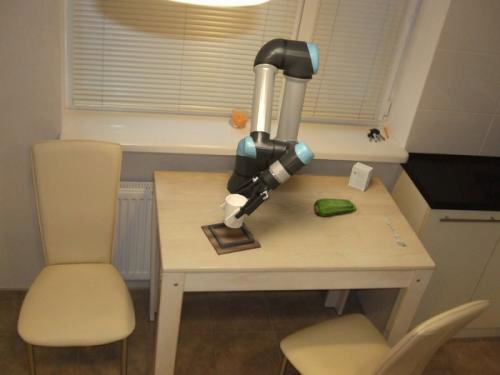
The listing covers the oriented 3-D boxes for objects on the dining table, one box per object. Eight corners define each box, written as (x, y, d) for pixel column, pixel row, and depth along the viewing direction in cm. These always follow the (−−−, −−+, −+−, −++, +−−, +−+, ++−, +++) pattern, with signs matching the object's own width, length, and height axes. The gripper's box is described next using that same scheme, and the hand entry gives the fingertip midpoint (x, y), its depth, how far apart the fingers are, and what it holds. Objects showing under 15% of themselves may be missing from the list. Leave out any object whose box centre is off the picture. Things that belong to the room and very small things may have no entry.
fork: (385, 213, 234) (386, 210, 233) (406, 248, 214) (408, 244, 213) (378, 213, 233) (379, 209, 232) (399, 248, 213) (400, 244, 212)
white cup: (219, 218, 199) (222, 194, 194) (239, 216, 202) (243, 193, 197) (226, 230, 193) (229, 206, 188) (247, 228, 196) (251, 205, 191)
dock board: (201, 227, 204) (201, 222, 203) (241, 221, 212) (242, 216, 211) (218, 255, 192) (219, 249, 191) (260, 247, 199) (261, 242, 198)
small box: (368, 187, 251) (373, 167, 245) (363, 192, 247) (369, 172, 241) (352, 181, 254) (357, 161, 249) (347, 185, 250) (353, 165, 244)
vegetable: (316, 195, 221) (357, 192, 229) (309, 204, 226) (349, 200, 235) (321, 211, 217) (363, 207, 225) (314, 220, 223) (355, 215, 231)
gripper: (290, 197, 185) (238, 237, 189) (272, 168, 202) (225, 205, 205) (278, 184, 181) (225, 225, 184) (260, 155, 198) (212, 194, 201)
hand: (225, 215), depth 195 cm, fingers closed on white cup, 8 cm apart
